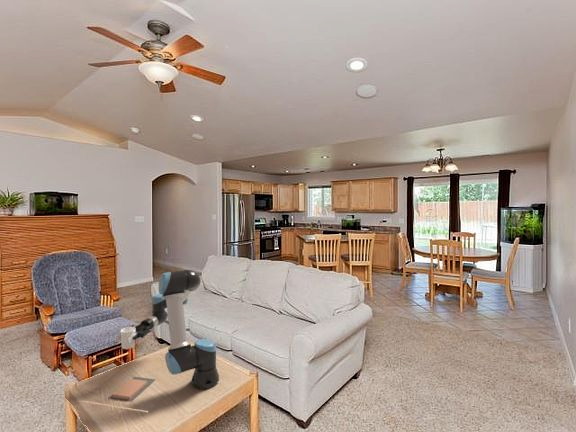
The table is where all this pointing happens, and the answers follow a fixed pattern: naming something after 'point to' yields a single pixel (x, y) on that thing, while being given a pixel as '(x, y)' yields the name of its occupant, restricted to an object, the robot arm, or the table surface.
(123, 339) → the white cup
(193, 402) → the table surface
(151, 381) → the mat
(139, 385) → the tile
